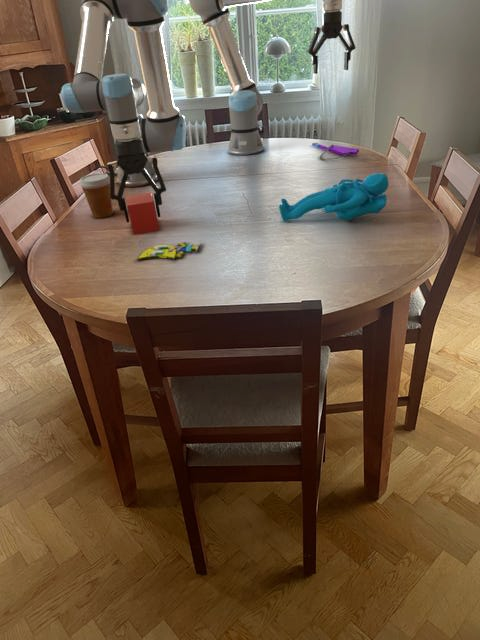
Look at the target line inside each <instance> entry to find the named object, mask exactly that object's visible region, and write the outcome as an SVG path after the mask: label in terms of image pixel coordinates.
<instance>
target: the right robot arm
mask: <svg viewBox="0 0 480 640" xmlns="http://www.w3.org/2000/svg"><path fill="white" fill-rule="evenodd" d="M188 1H189V5H190V8H191V9H192V11H193V12H194V13H195V14H196V15H198V16H199V17H200V19H201V22H202V24H203V26H204V27H205V28H207V29H208V30H209V32H210V35H211V38H212V41H213V43H214V46H215V48H216V50H217V53H218V57H219V59H220V62H221V64H222V66H223V68H224V71H225V75H226V77H227V79H228V83H229V85H230V87H231V89H230V92H229V94H230V95H228V110H229V121H230V133H231V134H230V137H229V144H228V153H229V154H231V155H234V156H249V155H254V154H258V153H259V154H260V153H261V152H263V151H264V143H263V140H262V138H261V135H260V133H262V132H263V129H262V127H261V125H260V124H259V121H258V119H259V118H258V116H259V115H260V114H261V112H262V110H263V108H264V107H263V106H264V100H263V96H262V94H261V93H260V92H259V90H258V87H257V85H256V82H255V81H254V80H252V79H250V76H249V74H248V71H247V68H246V65H245V63H244V60H243V57H242V54H241V52H240V49H239V46H238V43H237V41H236V38H235V36H234V32H233V29H232V27H231V24H230V21H229V18H230V15H231V13H230V10H229V8H231V7H236V6H243V5H244V6H245V5H249V4H250V5H251V4H258V3H263V2H269V1H271V0H188ZM342 10H343V0H322V11H323V13H322V17H321V18H322V20H321V21H322V25H321V27H319V26H315V27H314V32H313V36H312V37H311V40H310V43H309V46H308V47H307V48H308V49H307V52H306V54H307V55H308V56H311V57H310V58H311V62H310V63H311V65H312V66H313V67H312V69H313V70H312V72H313V74H315V75H317V74H318V73H319V72H318V71H319V69H318V68H319V66H318V65H319V62H318V61H319V56H318V55H317V54H318V52H319V51H320V49H321V48H322V46H323V45H324V43H325V42H326V41H327V40H331V39H337V40H338V42H339V43H340V44H341V45H342V47H343V48H344V50H345V51H344V53H343V56H344V57H343V70H345V71H348V70H349V65H350V64H349V63H350V61H351V58H352V52H353V51H354V50H356V49H357V47H356V45H355V42H354V40H353V37H352V36H353V35H352V34H351V31H350V25H349V24H348V23H344V24H343V25H342V20H343V12H342ZM341 31H343V33H344V35H345V38H346V39H345V38H344V36H343V34H342V33H341ZM321 32H322V35H321V37H320V39H319V36H320V34H321ZM318 39H319V40H318ZM346 40H347V41H346ZM317 41H318V42H317Z"/></svg>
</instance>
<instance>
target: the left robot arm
mask: <svg viewBox="0 0 480 640" xmlns="http://www.w3.org/2000/svg"><path fill="white" fill-rule="evenodd" d="M168 13H169V7H168V0H81V3H80V9H79V16H80V19H81V21H82V22H81V28H80V34H79V41H78V48H77V55H76V61H75V69H74V75H73V80H72V82H69V83H64V85H62V87H61V99H62V102H63V105H64V106H65V109H66V110H67V111H68V112H70V113H75V114H77V113H79V114H80V113H82V114H85V113H93V112H102V111H103V112H104V111H107V115H108V119H109V125H110V129H111V133H112V139H113V142H114V147H115V152H116V160H115V161H108V162H107V166H104V165H96V166H95V167H94V169H93V170H94V171H97V170H98V169H105V170H107V171H106V173H105V174H107V175H108V176H109V178H110V198H111V200H114V201H117V203H118V208H119V211H120V212H124V216H125V221H126V223H130V216H129V212H128V207H127V202H126V198H125V197H123V195H124V193H125V188H136V187H137V188H138V187H145V186H147V185H148V186H150V187H151V188H152V190H153V191H154V192H153V200H154V204H155V209H156V215H157V218H161V217H162V216H161V211H160V206H162V205H163V200H162V193H165V192H166V191H167V187H166V185H165V182H164V179H163V177H162V174H161V171H160V169H159V167H158V158H157V156H156V155H152V156H150V153H160V152H162V153H163V152H175V151H181V150H183V149H184V148H185V145H186V141H187V121H186V117H185V115H182V114H180V109H179V108H178V107H176V106H175V103H174V99H173V93H172V86H171V80H170V74H169V69H168V68H169V67H168V63H167V57H166V56H167V55H166V51H165V45H164V39H163V33H162V32H163V31H162V27H163V25H164V23H165V16H167V15H168ZM116 20H126V23H127V27H128V28H129V29H130V30H132V31H133V33H134V39H135V43H136V44H135V45H136V49H137V53H138V58H139V63H140V67H141V68H140V69H141V74H142V78H143V82H144V83H143V82H142V80H140V79H139V78H137V77H134V76H131V75H129V74H128V73H115V74H109V75H105V76H103V74H104V73H103V71H104V65H105V57H106V50H107V43H108V37H109V35H108V34H109V29H111V28H112V26H113V25H114V24H113V23H114V21H116ZM146 97H147V102H148V108H149V109H148V110H147V113H146V118H144V116H143V114H142V113H138V109H137V108H139V107H140V106H141V105H143V102H145V100H146V99H145V98H146ZM117 166H118V167H117ZM117 168H118V170H117ZM116 170H117V172H115V171H116ZM116 176H117V179H115V177H116ZM115 180H117V183H118V186H119V187H118V191H117V193H116V183H115V182H116V181H115ZM156 182H158V183H159V186H160V187H159V186H157V184H156Z"/></svg>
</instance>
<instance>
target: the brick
mask: <svg viewBox="0 0 480 640" xmlns="http://www.w3.org/2000/svg"><path fill="white" fill-rule="evenodd" d="M125 201H126V208H127V212H128V217H129V222H130V226H131V230H132V234H133V235H139V234H145V233H146V234H147V233H152V232H158V231H160V226H159V220H158V215H157V210H156V205H155V199H154V195H153V193H152V192H148V193H142V194H141V193H140V194H136V195H135V194H134V195H128V196H125Z"/></svg>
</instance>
